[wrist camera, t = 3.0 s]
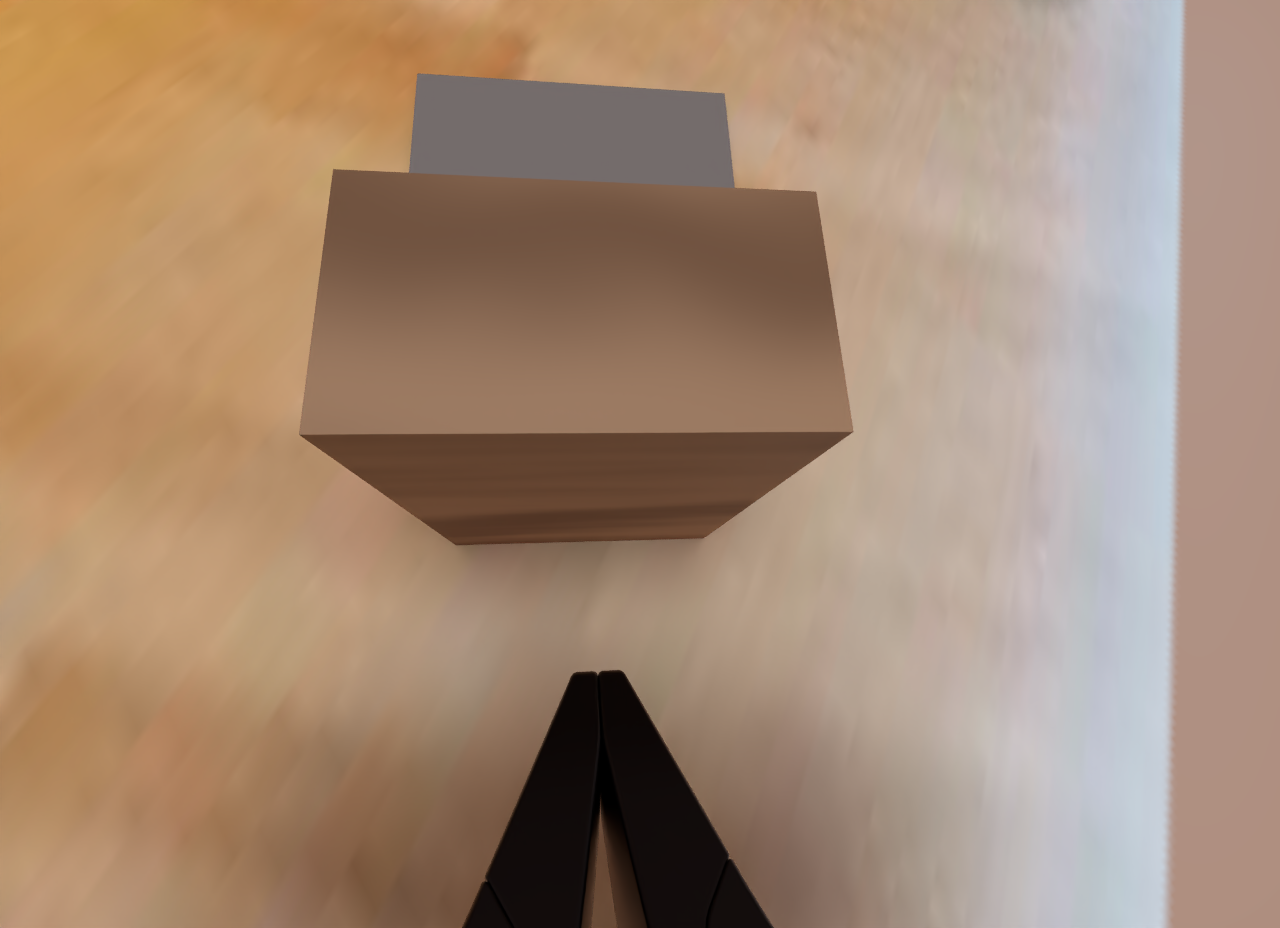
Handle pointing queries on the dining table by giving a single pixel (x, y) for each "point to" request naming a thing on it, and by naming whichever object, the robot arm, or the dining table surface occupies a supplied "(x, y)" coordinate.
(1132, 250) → the dining table surface
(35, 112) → the dining table surface
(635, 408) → the walnut block
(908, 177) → the dining table surface
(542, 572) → the dining table surface
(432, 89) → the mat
